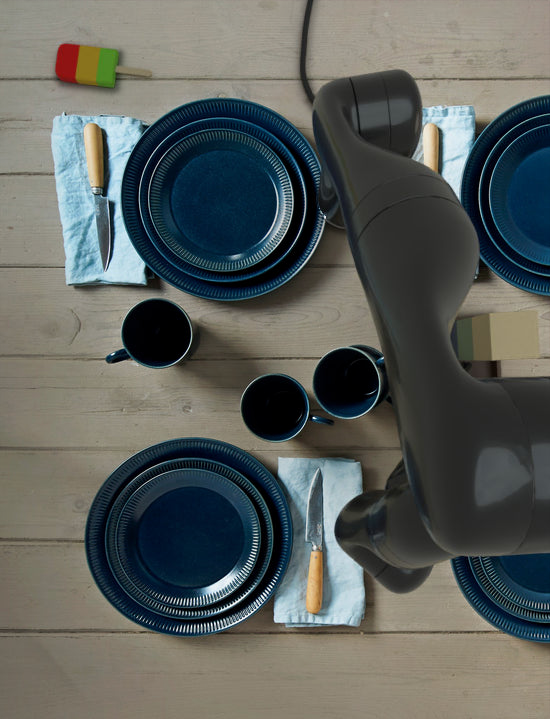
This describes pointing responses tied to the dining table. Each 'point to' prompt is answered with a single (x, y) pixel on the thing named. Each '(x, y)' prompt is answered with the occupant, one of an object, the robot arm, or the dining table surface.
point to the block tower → (497, 336)
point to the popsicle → (91, 65)
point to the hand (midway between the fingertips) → (484, 389)
